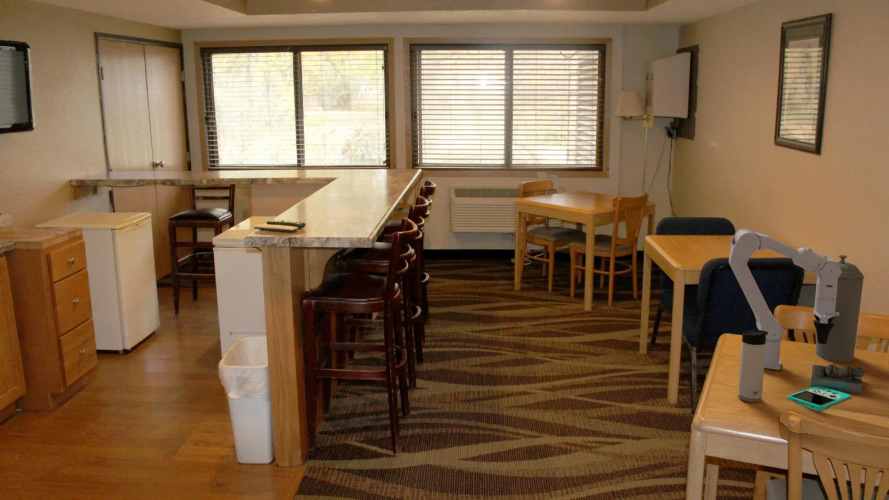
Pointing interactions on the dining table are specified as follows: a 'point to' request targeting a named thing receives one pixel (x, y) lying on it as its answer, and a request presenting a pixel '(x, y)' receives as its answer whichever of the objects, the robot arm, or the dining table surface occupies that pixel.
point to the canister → (844, 316)
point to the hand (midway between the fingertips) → (822, 340)
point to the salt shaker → (842, 371)
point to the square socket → (835, 382)
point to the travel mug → (752, 365)
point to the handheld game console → (818, 397)
